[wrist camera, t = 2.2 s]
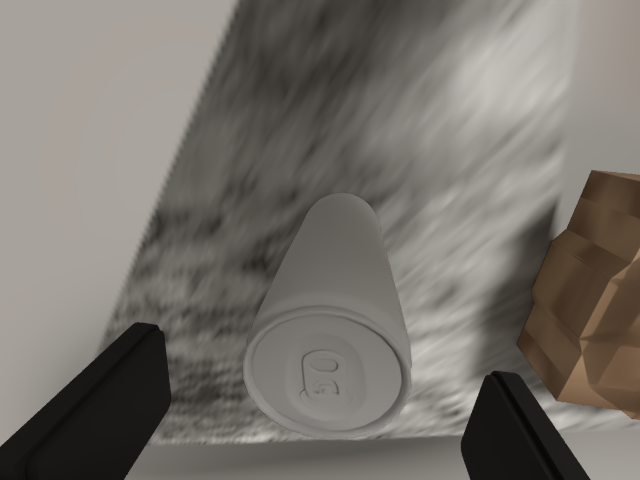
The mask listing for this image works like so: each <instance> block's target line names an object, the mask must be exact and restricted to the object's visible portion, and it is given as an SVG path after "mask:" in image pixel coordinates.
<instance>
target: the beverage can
mask: <svg viewBox="0 0 640 480" xmlns="http://www.w3.org/2000/svg"><path fill="white" fill-rule="evenodd" d="M411 366H412V360H411V349H410V342H409V338H408V334H407V330H406V326H405V322H404V317H403V314H402V310H401V306H400V302H399V298H398V294H397V291H396V287H395V283H394V280H393V276H392V272H391V269H390V265H389V261H388V257H387V253H386V249H385V245H384V241H383V237H382V233H381V228H380V224H379V221H378V219H377V216H376V214H375V212H374V211H373V209H372V208H371V207H370V205H369V204H368V203H367V202H365V201H364V200H363V199H362V198H360V197H358V196H355V195H352V194H348V193H335V194H329V195H327V196H325V197H323V198H321V199H319V200H318V201H317V202H316V203H315V204H314V205H313V206H312V207H311V209H310V210H309V211H308V213H307V215H306V217H305V219H304V221H303V223H302V225H301V227H300V229H299V231H298V233H297V234H296V236H295V238H294V240H293V242H292V244H291V246H290V247H289V249H288V251H287V253H286V255H285V257H284V259H283V261H282V263H281V265H280V267H279V270H278V272H277V274H276V276H275V278H274V280H273V282H272V284H271V286H270V288H269V290H268V292H267V294H266V296H265V299H264V301H263V303H262V305H261V307H260V309H259V311H258V313H257V315H256V317H255V319H254V321H253V324H252V327H251V330H250V333H249V336H248V339H247V349H246V352H245V355H244V358H243V380H244V383H245V386H246V389H247V391H248V394H249V396H250V397H251V398H252V400H253V401H254V403H255V404H256V406H257V407H258V408H259V409H260V410H261V411H262V412H263V413H264V414H265V415H267V416H268V417H269V418H270V419H271V420H272V421H274V422H276V423H278V424H279V425H281V426H283V427H285V428H286V429H288V430H290V431H293V432H296V433H299V434H302V435H305V436H308V437H314V438H320V439H326V440H337V439H351V438H356V437H361V436H365V435H368V434H370V433H373V432H375V431H377V430H379V429H381V428H384V427H385V426H386V425H387V424H389V423H390V422H391V421H392V420H394V419H395V418H396V417H397V416H398V415H399V414H400V412H401V411H402V409H403V408H404V406H405V405H406V403H407V401H408V398H409V394H410V390H411V387H412V381H411V371H410V370H411Z"/></svg>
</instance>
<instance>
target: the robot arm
mask: <svg viewBox="0 0 640 480" xmlns="http://www.w3.org/2000/svg"><path fill="white" fill-rule="evenodd" d="M170 403H171V390H170V382H169V373H168V364H167V355H166V346H165V338H164V332H163V331H161V330H160V329H159V327H158V325H155V324H147V323H140V322H137V323H134V324H133V325H132V326H131V327H129V328H128V329H127V330H126V331H125V332H124V333H123V334H122V335H121V336H120V337H119V338H118V339H116V340H115V341H114V342H113V343H112V344H111V345H110V346H109V347H108V348H107V349H106V350H105V351H103V352H102V353H101V354H100V355H99V356H98V357H97V358H96V359H95V360H94V361H93V362H92V363H90V364H89V365H88V366H87V367H86V368H85V369H84V370H83V371H82V372H81V373H80V374H79V375H77V377H75V378H74V379H73V380H72V381H71V382H70V383H69V384H68V385H67V386H66V387H64V388H63V389H62V390H61V391H60V392H59V393H58V394H57V395H56V396H55V397H54V398H53V399H51V400H50V401H49V402H48V403H47V404H46V405H45V406H44V407H43V408H42V409H41V410H40V411H38V412H37V413H36V414H35V415H34V416H33V417H32V418H31V419H30V420H29V421H28V422H27V423H26V424H24V425H23V426H22V427H21V428H20V429H19V430H18V431H17V432H16V433H15V434H14V435H12V436H11V437H10V438H9V439H8V440H7V441H6V442H5V443H4V444H3V445H2V446H1V447H0V480H124V478H125V477H126V475H127V474H128V472H129V470H130V469H131V467H132V466H133V464H134V463H135V461H136V460H137V458H138V456H139V455H140V453H141V452H142V450H143V449H144V447H145V445H146V444H147V442H148V441H149V439H150V438H151V436H152V434H153V433H154V431H155V430H156V428H157V427H158V425H159V423H160V422H161V420H162V419H163V417H164V416H165V414H166V412H167V411H168V409H169V406H170ZM461 452H462V456H463V459H464V462H465V465H466V468H467V471H468V474H469V476H470V480H590V478H589V477H588V475H587V474H586V472H585V471H584V469H583V468H582V466H581V465H580V463H579V462H578V461H577V459H576V458H575V456H574V455H573V453H572V452H571V450H570V449H569V447H568V446H567V444H566V443H565V441H564V440H563V438H562V437H561V435H560V434H559V433H558V431H557V430H556V428H555V427H554V425H553V424H552V422H551V421H550V419H549V418H548V416H547V415H546V413H545V412H544V410H543V409H542V407H541V406H540V405H539V403H538V402H537V400H536V399H535V397H534V396H533V394H532V393H531V391H530V390H529V388H528V387H527V385H526V384H525V382H524V381H523V380H522V378H521V377H520V376H519V375H518V374H516V373H509V372H502V371H493V372H492V373H491V375H487V376H485V378H484V381H483V383H482V386H481V389H480V391H479V394H478V397H477V400H476V402H475V405H474V408H473V410H472V413H471V416H470V418H469V421H468V424H467V427H466V429H465V432H464V435H463V437H462V441H461Z"/></svg>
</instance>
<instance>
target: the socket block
mask: <svg viewBox="0 0 640 480" xmlns="http://www.w3.org/2000/svg"><path fill="white" fill-rule="evenodd" d="M531 293H532V297H533V300H534V306H533V308H532V310H531V313H530V315H529V317H528V320H527V322H526V324H525V327H524V329H523V331H522V334H521V336H520V338H519V341H518V343H517V346H518V347H519V349H520V350H521V352H522V353H523V354H524V356H525V357H526V359H527V360H528V361H529V363H530V364H531V366H532V367H533V368H534V370H535V371H536V373H537V374H538V376H539V377H540V378H541V380H542V381H543V383H544V384H545V385H546V387H547V388H548V390H549V391H550V392H551V394H552V395H553V397H554V398H555V400H556V401H560V402H567V403H574V404H581V405H588V406H595V407H602V408H608V409H615V410H621V411H622V412H624V413H625V414H626V415H628V416H629V417H630V418H631V419H636V420H640V175H636V174H626V173H616V172H606V171H596V170H592V171H591V173H590V175H589V178H588V180H587V182H586V185H585V187H584V189H583V192H582V194H581V196H580V199H579V201H578V204H577V206H576V208H575V210H574V213H573V215H572V217H571V220H570V222H569V224H568V227H567V229H566V230H564V231H563V232H562V233H561V234H560V235H559V236H558V237H556V238H555V239H554V240H552V242H551V245H550V247H549V250H548V252H547V254H546V257H545V259H544V262H543V264H542V266H541V269H540V271H539V274H538V276H537V278H536V281H535V283H534V286H533V288H532V290H531Z"/></svg>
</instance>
